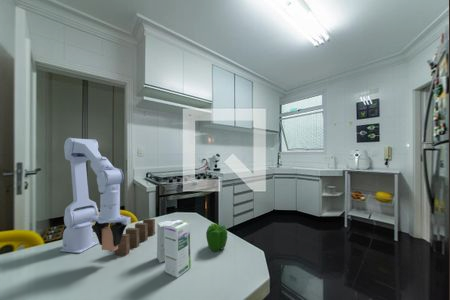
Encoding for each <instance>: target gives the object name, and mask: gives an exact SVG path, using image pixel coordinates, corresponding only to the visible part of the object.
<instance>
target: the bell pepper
mask: <svg viewBox="0 0 450 300" xmlns="http://www.w3.org/2000/svg"><path fill="white" fill-rule="evenodd" d="M205 234H206V235H205V237H206V242H207V246H208V249H209V250H210V251H211V252H218V251H220V250H224V249H225V248H226V245H227V240H228V230H227V227H226V225H222V226H221V225H219V224H217V223H215V222H212V223H211V224H210V225H209V226H208V227H207V230H206V232H205Z"/></svg>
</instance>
